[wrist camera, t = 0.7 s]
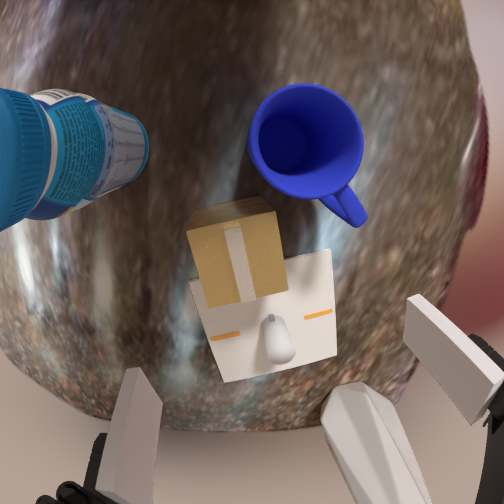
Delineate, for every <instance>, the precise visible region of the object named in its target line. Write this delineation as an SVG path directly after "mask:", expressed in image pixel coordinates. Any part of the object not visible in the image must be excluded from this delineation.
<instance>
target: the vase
mask: <svg viewBox="0 0 504 504" xmlns="http://www.w3.org/2000/svg"><path fill="white" fill-rule="evenodd" d="M320 421H321V424H322V426H323V428H324V431H325V436H326V441H327V444H328V446H329V449H330V451H331V453H332V455H333V457H334V459H335V461H336V463H337V465H338V468H339V470H340V471H341V474H342V476H343V478H344V480H345V482H346V484H347V486H348V488H349V491H350V493H351V495H352V497H353V499H354V501H355V503H356V504H432V501H431V498H430V495H429V493H428V490H427V487H426V484H425V482H424V479H423V476H422V474H421V471H420V468H419V466H418V463H417V461H416V458H415V456H414V453H413V451H412V448H411V446H410V443H409V441H408V439H407V436H406V434H405V431H404V429H403V427H402V424H401V422H400V420H399V417H398V415H397V413H396V411H395V409H394V407H393V405H392V403H391V402H390V401H389V400H388V399H386V398H385V397H383V396H382V395H380V394H379V393H377V392H376V391H375V390H373V389H372V388H370V387H369V386H367V385H366V384H364V383H363V382H360V381H358V382H353V383H348V384H344V385H339V386H336V387H335V388H333V389H332V391H331V392H330V393H329V395H328V396H327V398H326V399H325V401H324V402H323V404H322V405H321V416H320Z"/></svg>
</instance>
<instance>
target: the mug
mask: <svg viewBox="0 0 504 504" xmlns="http://www.w3.org/2000/svg"><path fill="white" fill-rule="evenodd" d="M363 148H364V140H363V133H362V129H361V125H360V122H359V120H358V118H357V116H356V114H355V112H354V111H353V109H352V108H351V107H350V105H349V104H348V103H347V102H346V101H345V100H344V99H343V98H342V97H340V96H339V95H338V94H336V93H335V92H333V91H331V90H329V89H327V88H325V87H322V86H319V85H314V84H294V85H289V86H286V87H283V88H281V89H279V90H277V91H275V92H274V93H272V94H271V95H270V96H268V97H267V98H266V99H265V100H264V101H263V102H262V103H261V105H260V106H259V107H258V109H257V111H256V113H255V115H254V117H253V119H252V122H251V125H250V128H249V131H248V135H247V151H248V154H249V157H250V159H251V161H252V163H253V164H254V166H255V167H256V168H257V170H258V171H259V172H260V174H261V175H262V176H263V178H264V179H265V180H266V181H267V182H268V183H269V184H270V185H271V186H273V187H274V188H275V189H277V190H278V191H280V192H281V193H284V194H286V195H288V196H291V197H294V198H298V199H308V200H312V199H319V200H320V201H321V202H322V203H323V204H324V205H325V206H326V207H327V208H328V209H329V210H331V211H332V212H333V213H335V214H336V215H337V216H338V217H340V218H341V219H343V220H344V221H345V222H347V223H348V224H350V225H351V226H352V227H354V228H358V227H360V226H361V225H363V224H364V223H365V222H366V220H367V218H368V216H367V214H366V212H365V210H364V208H363V206H362V205H361V203H360V201H359V200H358V198H357V196H356V195H355V194H354V192H353V191H352V189H351V188H350V187H349V186H348V183H349V182H350V181H351V179H352V178H353V177H354V175H355V174H356V172H357V170H358V168H359V166H360V163H361V160H362V156H363Z"/></svg>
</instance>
